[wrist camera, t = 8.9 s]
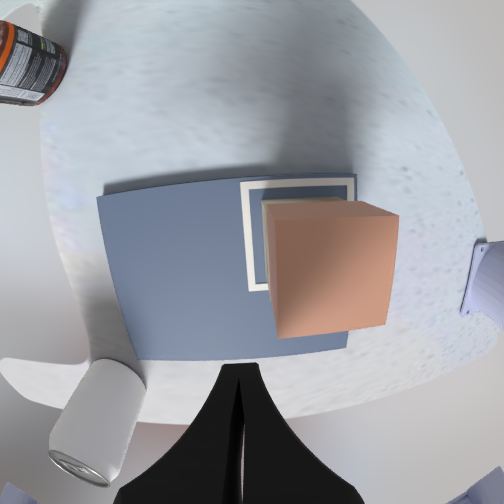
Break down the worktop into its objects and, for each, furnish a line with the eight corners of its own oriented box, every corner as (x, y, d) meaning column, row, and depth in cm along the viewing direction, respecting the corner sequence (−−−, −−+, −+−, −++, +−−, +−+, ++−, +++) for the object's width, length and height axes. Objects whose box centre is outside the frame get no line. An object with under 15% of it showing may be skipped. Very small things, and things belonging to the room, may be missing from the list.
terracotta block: (360, 200, 13) (399, 215, 10) (355, 287, 15) (385, 324, 11) (266, 204, 13) (274, 220, 10) (270, 295, 15) (278, 338, 11)
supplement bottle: (15, 93, 14) (-72, 85, 3) (49, 39, 13) (-31, 6, 2) (42, 118, 15) (-61, 113, 5) (81, 57, 14) (-12, 15, 3)
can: (156, 401, 24) (129, 496, 13) (108, 398, 24) (72, 479, 13) (131, 355, 22) (84, 458, 11) (81, 356, 22) (28, 439, 11)
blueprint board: (351, 173, 18) (357, 174, 17) (342, 341, 22) (346, 348, 21) (102, 195, 18) (95, 197, 17) (140, 352, 22) (137, 359, 21)
